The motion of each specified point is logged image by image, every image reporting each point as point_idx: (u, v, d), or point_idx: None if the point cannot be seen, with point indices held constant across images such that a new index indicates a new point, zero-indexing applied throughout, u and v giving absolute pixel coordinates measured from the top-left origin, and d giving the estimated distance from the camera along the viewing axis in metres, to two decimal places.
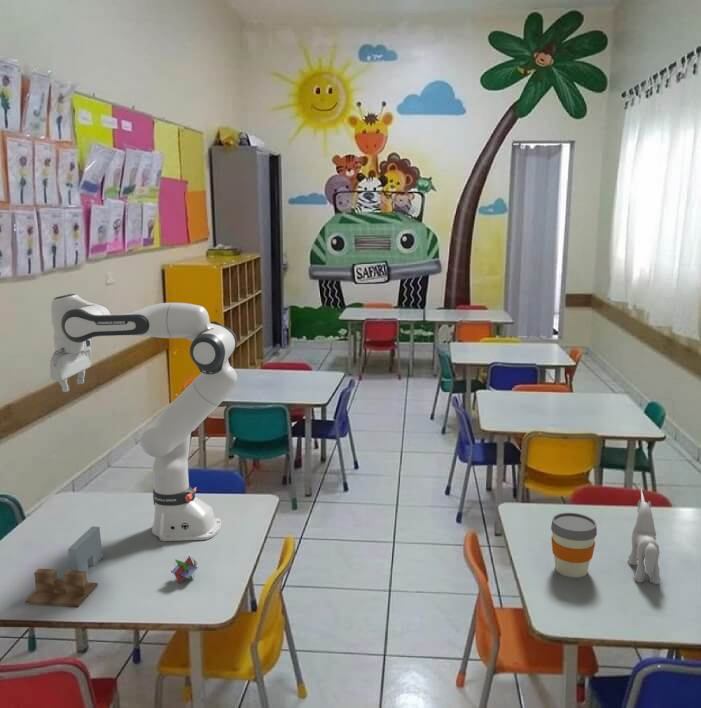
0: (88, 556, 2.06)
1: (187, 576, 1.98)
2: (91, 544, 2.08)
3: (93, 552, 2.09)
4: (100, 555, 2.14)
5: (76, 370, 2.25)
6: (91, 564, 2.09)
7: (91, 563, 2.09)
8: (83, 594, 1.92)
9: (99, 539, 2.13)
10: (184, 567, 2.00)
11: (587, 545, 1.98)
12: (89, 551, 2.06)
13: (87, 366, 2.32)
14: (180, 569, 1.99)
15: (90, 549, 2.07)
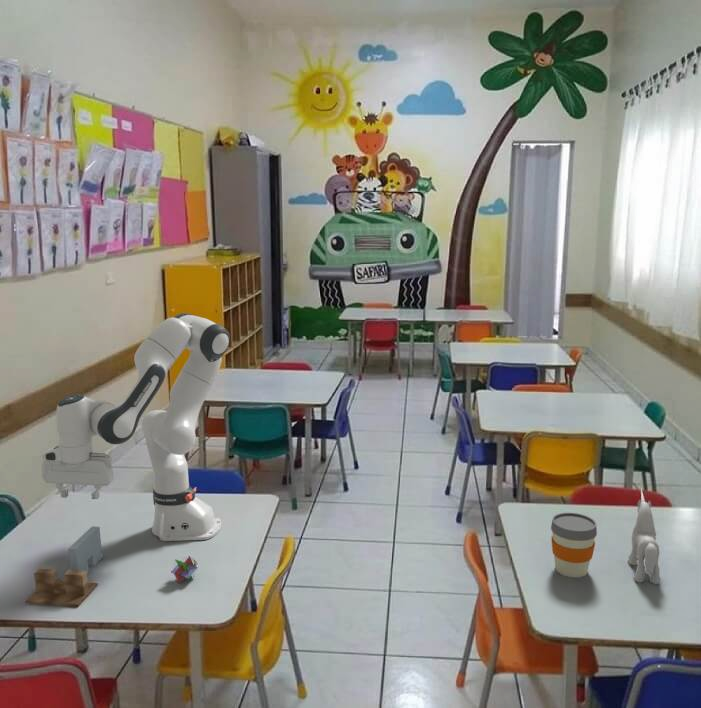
0: (88, 556, 2.06)
1: (187, 576, 1.98)
2: (91, 544, 2.08)
3: (93, 552, 2.09)
4: (100, 555, 2.14)
5: None
6: (91, 564, 2.09)
7: (91, 563, 2.09)
8: (83, 594, 1.92)
9: (99, 539, 2.13)
10: (184, 567, 2.00)
11: (587, 545, 1.98)
12: (89, 551, 2.06)
13: None
14: (180, 569, 1.99)
15: (90, 549, 2.07)
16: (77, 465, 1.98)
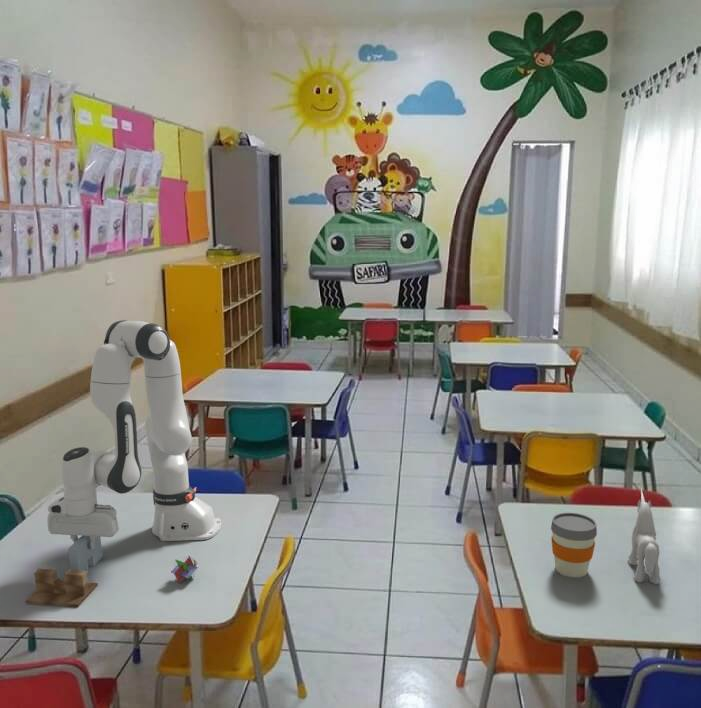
0: (88, 556, 2.06)
1: (187, 576, 1.98)
2: None
3: (93, 552, 2.09)
4: (100, 555, 2.14)
5: None
6: (91, 564, 2.09)
7: (91, 563, 2.09)
8: (83, 594, 1.92)
9: (99, 539, 2.13)
10: (184, 567, 2.00)
11: (587, 545, 1.98)
12: (89, 551, 2.06)
13: None
14: (180, 569, 1.99)
15: (90, 549, 2.07)
16: (82, 517, 2.02)
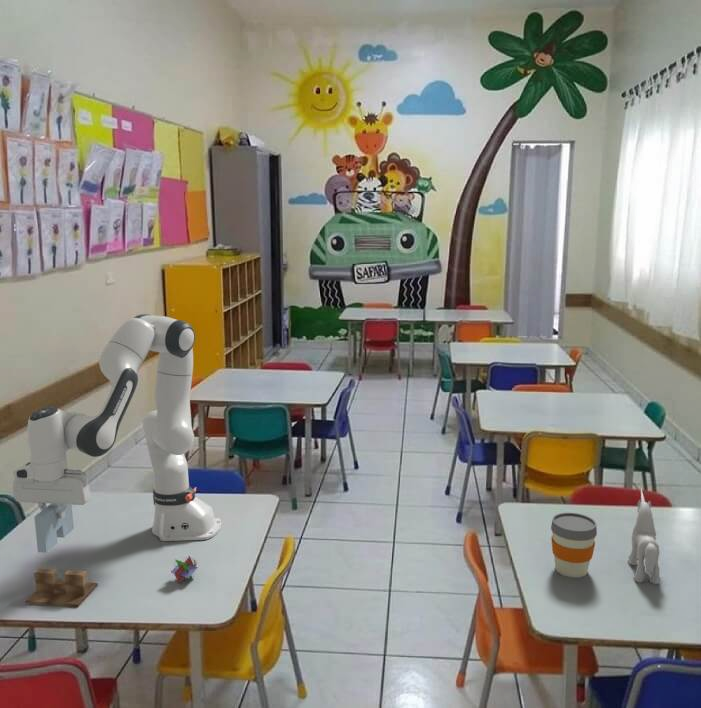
0: (57, 526, 1.89)
1: (187, 576, 1.98)
2: None
3: (63, 522, 1.92)
4: (72, 527, 1.97)
5: None
6: (61, 535, 1.92)
7: (60, 535, 1.92)
8: (83, 594, 1.92)
9: (70, 509, 1.96)
10: (184, 567, 2.00)
11: (587, 545, 1.98)
12: (58, 520, 1.89)
13: None
14: (180, 569, 1.99)
15: (60, 519, 1.90)
16: (50, 483, 1.85)
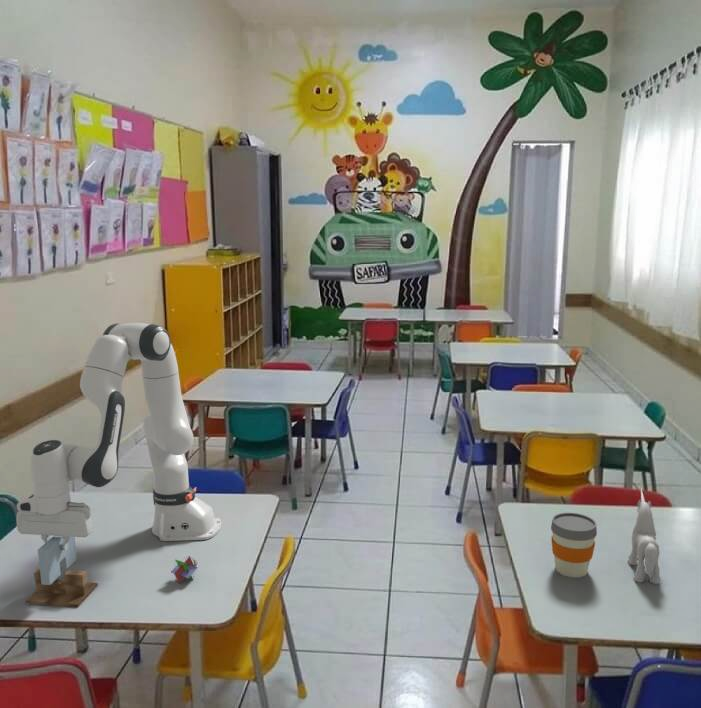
0: (60, 558, 1.91)
1: (187, 576, 1.98)
2: None
3: (66, 554, 1.94)
4: (75, 557, 1.99)
5: None
6: (64, 566, 1.94)
7: (64, 566, 1.94)
8: (83, 594, 1.92)
9: (73, 539, 1.98)
10: (184, 567, 2.00)
11: (587, 545, 1.98)
12: (61, 552, 1.91)
13: None
14: (180, 569, 1.99)
15: (63, 550, 1.92)
16: (54, 516, 1.86)
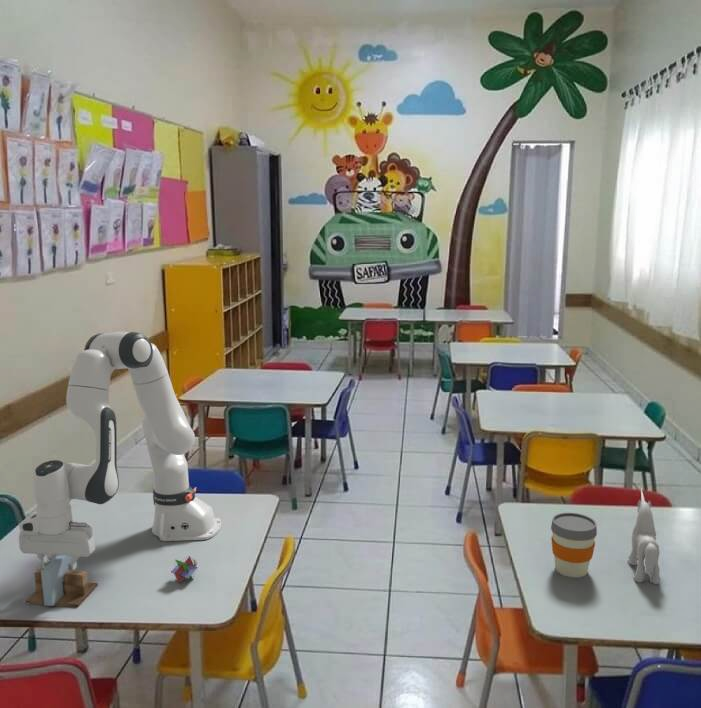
0: (63, 578, 1.92)
1: (187, 576, 1.98)
2: (66, 566, 1.94)
3: None
4: None
5: None
6: None
7: None
8: (83, 594, 1.92)
9: None
10: (184, 567, 2.00)
11: (587, 545, 1.98)
12: (64, 572, 1.93)
13: None
14: (180, 569, 1.99)
15: (65, 571, 1.94)
16: (56, 536, 1.88)
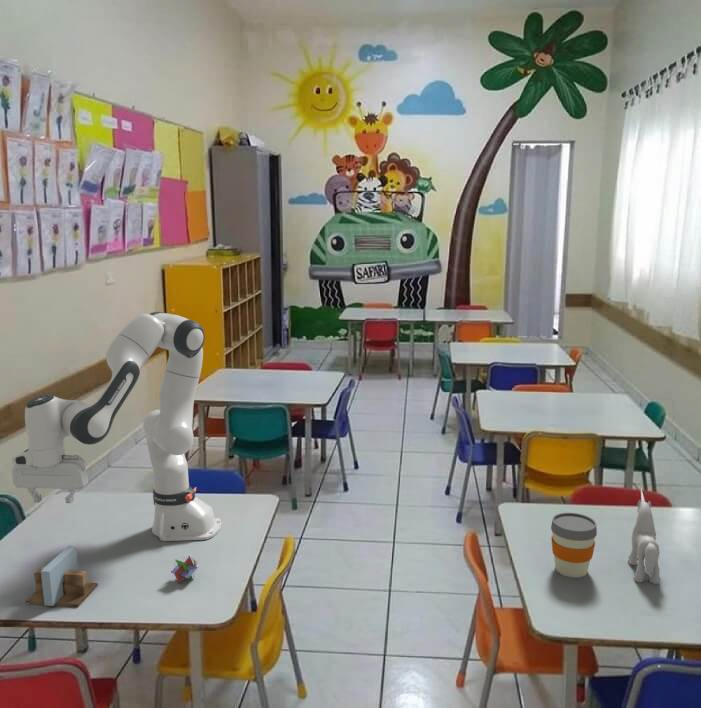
0: (63, 578, 1.92)
1: (187, 576, 1.98)
2: (66, 566, 1.94)
3: None
4: None
5: None
6: None
7: None
8: (83, 594, 1.92)
9: (76, 559, 1.99)
10: (184, 567, 2.00)
11: (587, 545, 1.98)
12: (64, 572, 1.93)
13: None
14: (180, 569, 1.99)
15: (65, 571, 1.94)
16: (49, 468, 1.89)
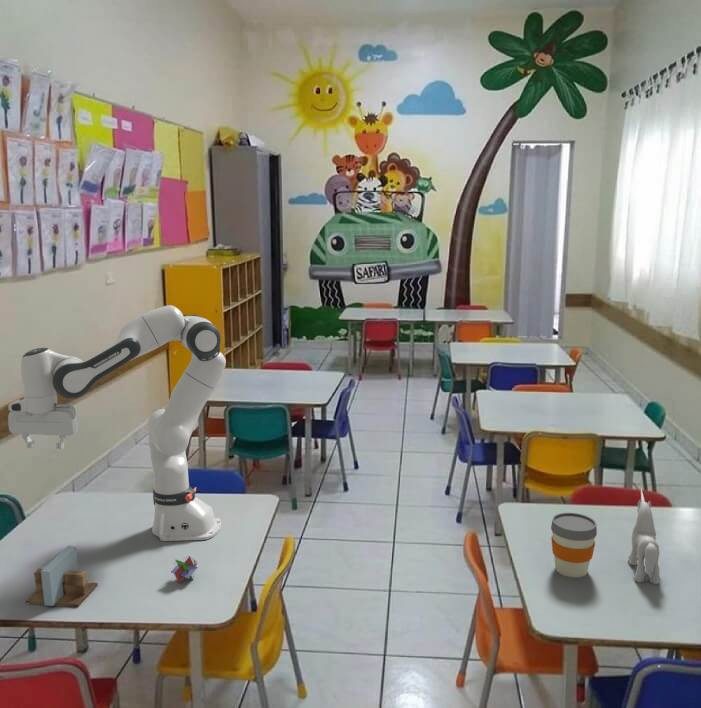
0: (63, 578, 1.92)
1: (187, 576, 1.98)
2: (66, 566, 1.94)
3: None
4: None
5: None
6: None
7: None
8: (83, 594, 1.92)
9: (76, 559, 1.99)
10: (184, 567, 2.00)
11: (587, 545, 1.98)
12: (64, 572, 1.93)
13: None
14: (180, 569, 1.99)
15: (65, 571, 1.94)
16: (42, 415, 2.05)
